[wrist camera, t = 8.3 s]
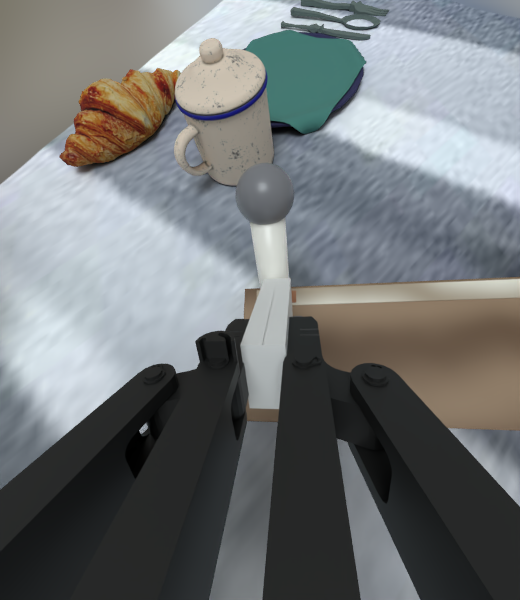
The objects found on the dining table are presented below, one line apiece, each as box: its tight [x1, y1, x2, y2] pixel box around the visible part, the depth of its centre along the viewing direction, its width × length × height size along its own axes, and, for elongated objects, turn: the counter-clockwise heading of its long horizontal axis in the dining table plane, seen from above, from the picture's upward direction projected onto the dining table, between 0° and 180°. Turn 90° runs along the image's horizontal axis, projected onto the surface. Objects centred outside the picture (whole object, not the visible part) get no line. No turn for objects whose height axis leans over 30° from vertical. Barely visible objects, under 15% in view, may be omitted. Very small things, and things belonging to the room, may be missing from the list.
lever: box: [236, 163, 294, 289], centre depth 15 cm, size 3×3×12 cm
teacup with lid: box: [174, 38, 274, 186], centre depth 27 cm, size 12×9×12 cm
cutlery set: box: [243, 0, 389, 134], centre depth 37 cm, size 20×30×2 cm, turn 149°
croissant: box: [60, 68, 181, 167], centre depth 36 cm, size 21×10×8 cm, turn 139°
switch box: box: [244, 277, 520, 430], centre depth 20 cm, size 10×26×4 cm, turn 89°
